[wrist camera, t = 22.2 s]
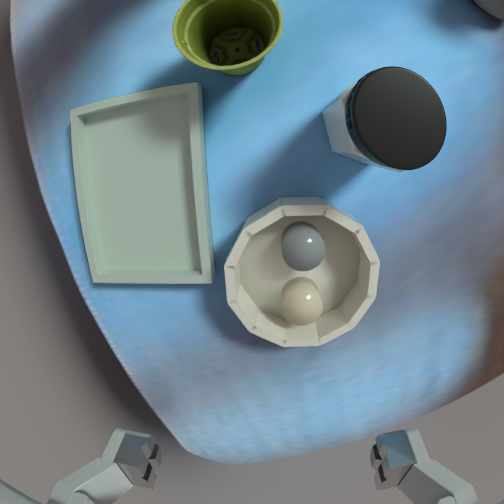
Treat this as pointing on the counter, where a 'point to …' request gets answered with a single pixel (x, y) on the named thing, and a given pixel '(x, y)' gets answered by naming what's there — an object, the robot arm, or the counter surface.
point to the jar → (387, 120)
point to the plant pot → (222, 23)
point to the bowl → (301, 272)
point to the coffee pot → (492, 7)
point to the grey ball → (302, 246)
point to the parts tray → (144, 187)
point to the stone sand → (301, 301)
